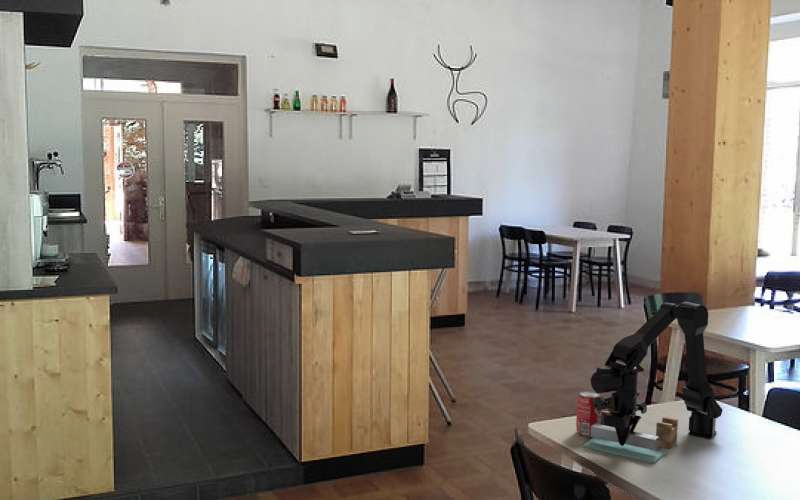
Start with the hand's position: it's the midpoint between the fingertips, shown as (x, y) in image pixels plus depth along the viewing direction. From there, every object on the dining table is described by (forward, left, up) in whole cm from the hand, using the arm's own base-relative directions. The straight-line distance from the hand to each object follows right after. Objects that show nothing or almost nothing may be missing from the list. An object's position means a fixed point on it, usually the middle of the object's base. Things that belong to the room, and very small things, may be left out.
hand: (623, 443), depth 221 cm
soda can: (+13, -7, -2) cm, 15 cm away
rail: (0, 0, 0) cm, 1 cm away
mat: (0, 0, -2) cm, 2 cm away
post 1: (+8, -12, -2) cm, 14 cm away
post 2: (-8, -12, -2) cm, 14 cm away
